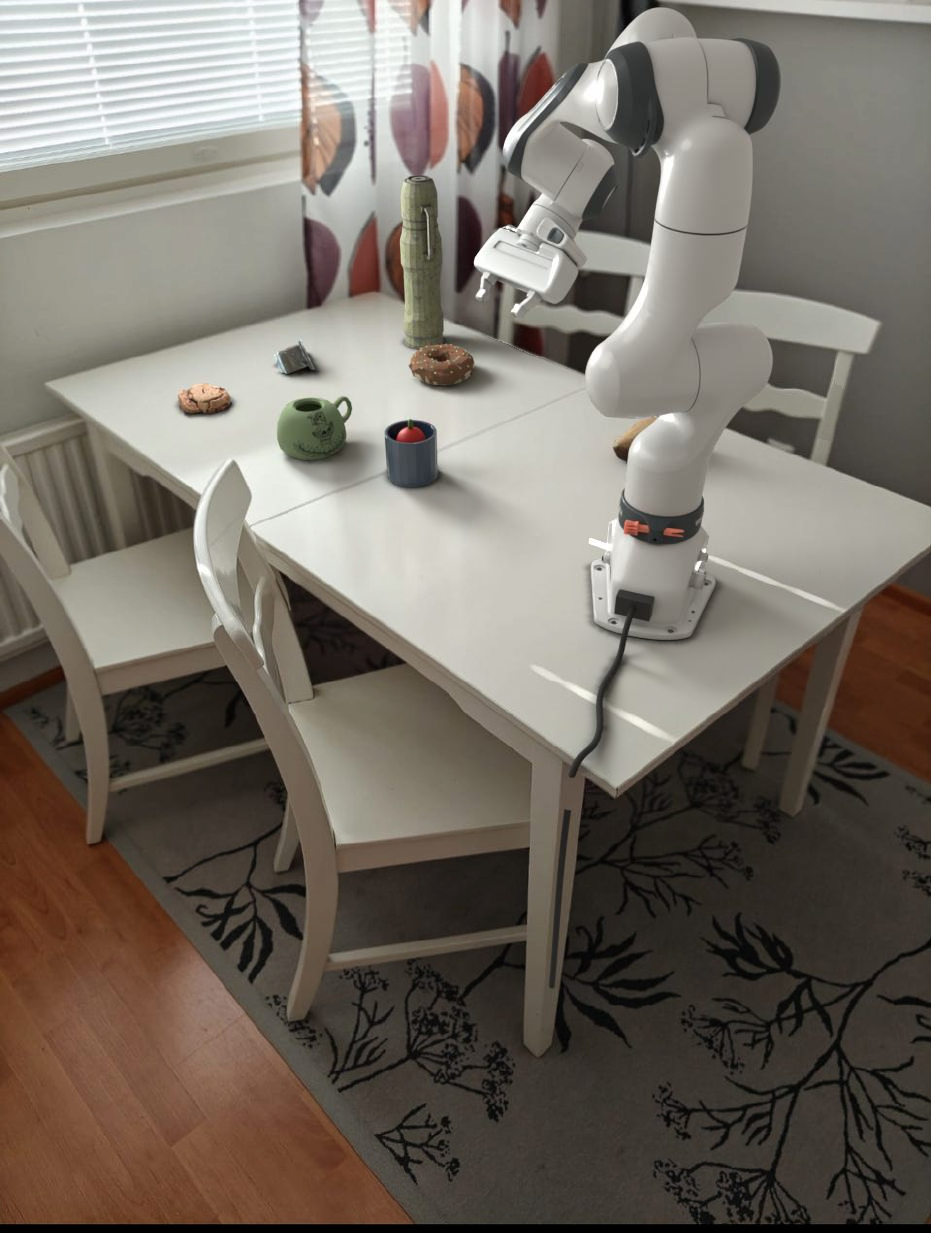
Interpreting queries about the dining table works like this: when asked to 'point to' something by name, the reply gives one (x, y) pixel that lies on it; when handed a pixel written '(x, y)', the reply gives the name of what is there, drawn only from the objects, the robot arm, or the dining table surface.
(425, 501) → the dining table surface
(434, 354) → the donut
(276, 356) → the grey blocky piece
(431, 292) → the thermos
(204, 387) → the cookie
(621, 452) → the vegetable
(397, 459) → the cup
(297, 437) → the mug
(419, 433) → the pepper
